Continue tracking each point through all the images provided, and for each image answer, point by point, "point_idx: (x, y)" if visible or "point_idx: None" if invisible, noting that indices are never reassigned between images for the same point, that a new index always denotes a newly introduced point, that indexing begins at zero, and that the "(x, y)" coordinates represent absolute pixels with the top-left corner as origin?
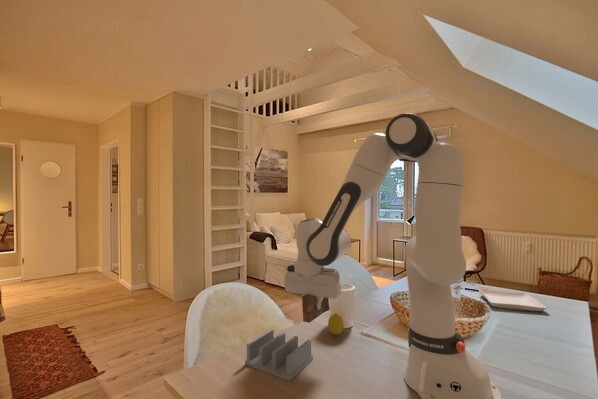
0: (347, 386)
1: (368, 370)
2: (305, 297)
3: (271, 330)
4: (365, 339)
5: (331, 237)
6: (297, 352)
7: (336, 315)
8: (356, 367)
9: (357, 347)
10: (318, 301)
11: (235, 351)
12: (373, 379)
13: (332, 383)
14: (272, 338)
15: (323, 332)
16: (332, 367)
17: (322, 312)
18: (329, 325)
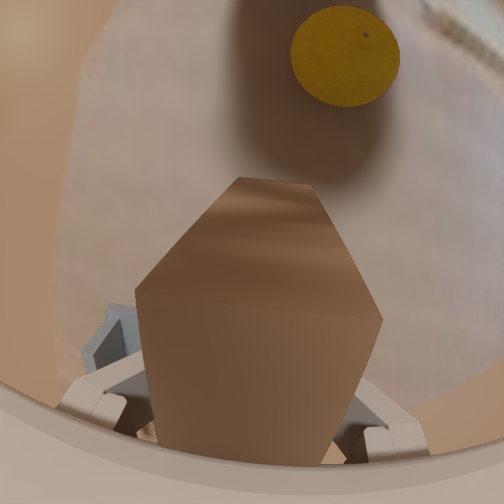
0: (427, 386)
1: (482, 302)
2: None
3: (92, 363)
4: (460, 75)
5: None
6: None
7: (374, 51)
8: (454, 304)
9: (450, 161)
10: (351, 450)
11: (60, 361)
12: (486, 333)
13: (392, 394)
14: (109, 340)
15: (250, 62)
16: (385, 339)
17: (310, 187)
18: (316, 95)
